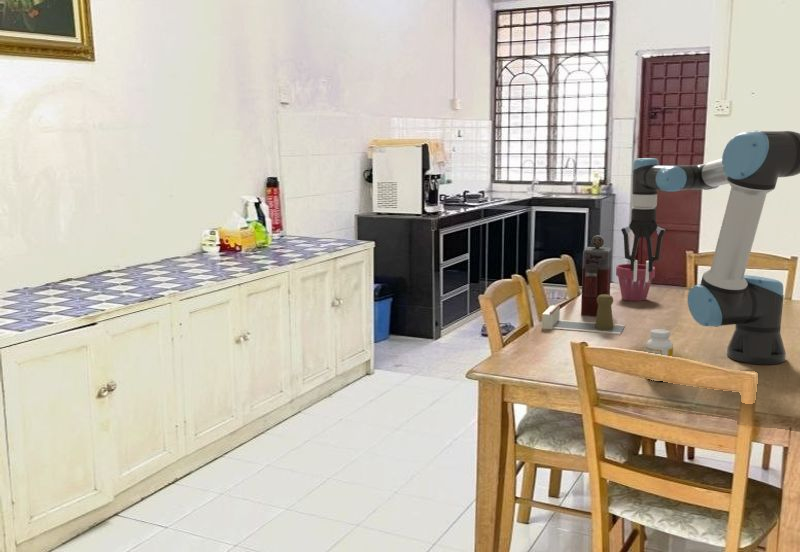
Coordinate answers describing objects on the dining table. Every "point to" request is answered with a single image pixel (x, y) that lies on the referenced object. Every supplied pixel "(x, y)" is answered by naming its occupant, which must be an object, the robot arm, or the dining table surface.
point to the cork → (604, 312)
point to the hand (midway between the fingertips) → (640, 281)
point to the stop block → (550, 317)
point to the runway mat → (586, 327)
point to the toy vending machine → (595, 275)
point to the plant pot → (634, 289)
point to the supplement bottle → (660, 343)
